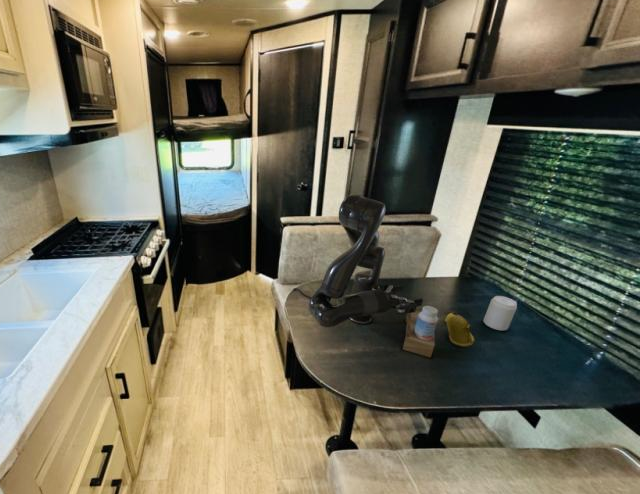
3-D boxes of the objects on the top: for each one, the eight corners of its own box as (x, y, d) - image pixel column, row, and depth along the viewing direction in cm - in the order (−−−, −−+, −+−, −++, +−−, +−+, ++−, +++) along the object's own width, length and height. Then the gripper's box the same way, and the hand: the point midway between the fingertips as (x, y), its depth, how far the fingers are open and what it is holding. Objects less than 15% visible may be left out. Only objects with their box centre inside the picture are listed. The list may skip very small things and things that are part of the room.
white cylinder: (485, 328, 126) (495, 303, 121) (481, 317, 133) (490, 293, 128) (509, 334, 123) (521, 308, 118) (504, 322, 130) (514, 298, 125)
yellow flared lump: (451, 353, 114) (463, 319, 108) (434, 338, 121) (444, 306, 115) (477, 348, 116) (491, 315, 110) (459, 334, 123) (471, 302, 117)
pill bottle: (424, 342, 110) (432, 316, 106) (409, 332, 115) (416, 306, 111) (436, 337, 112) (444, 312, 108) (421, 327, 118) (428, 302, 113)
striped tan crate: (430, 357, 112) (436, 340, 108) (402, 349, 116) (407, 332, 112) (429, 326, 128) (434, 310, 124) (405, 320, 132) (409, 304, 128)
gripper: (387, 305, 92) (431, 296, 96) (358, 281, 104) (398, 274, 108) (382, 325, 95) (425, 316, 99) (354, 300, 108) (394, 292, 111)
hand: (411, 294), depth 104 cm, fingers open, 8 cm apart
